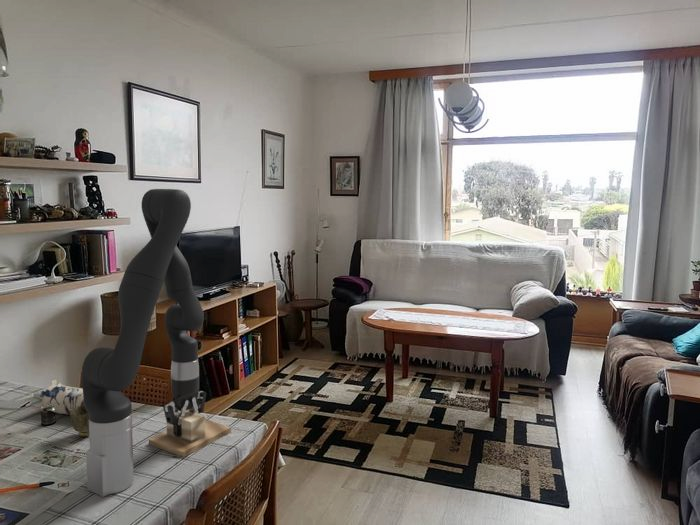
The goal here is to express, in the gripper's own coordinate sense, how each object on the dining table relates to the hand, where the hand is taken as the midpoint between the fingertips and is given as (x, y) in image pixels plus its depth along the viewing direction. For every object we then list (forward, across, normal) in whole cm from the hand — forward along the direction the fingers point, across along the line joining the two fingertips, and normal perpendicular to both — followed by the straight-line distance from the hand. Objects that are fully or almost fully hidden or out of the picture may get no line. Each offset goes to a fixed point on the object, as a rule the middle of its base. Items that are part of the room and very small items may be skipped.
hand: (185, 432), depth 143 cm
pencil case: (+3, -5, +43) cm, 44 cm away
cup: (+3, -13, +27) cm, 30 cm away
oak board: (+2, +2, 0) cm, 3 cm away
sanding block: (+1, 0, 0) cm, 1 cm away
